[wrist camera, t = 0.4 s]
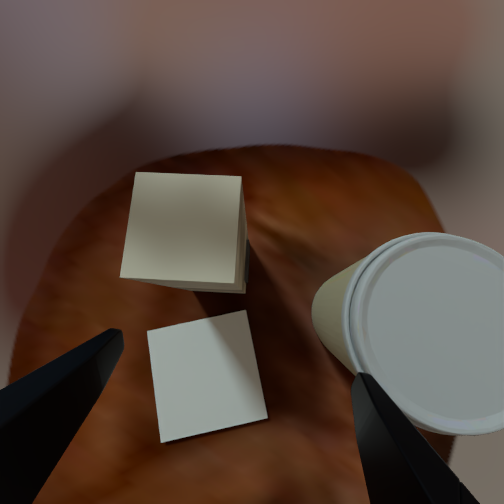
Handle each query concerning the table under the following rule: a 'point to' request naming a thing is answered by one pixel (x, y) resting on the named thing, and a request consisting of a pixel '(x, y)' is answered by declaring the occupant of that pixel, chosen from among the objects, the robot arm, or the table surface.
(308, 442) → the table surface
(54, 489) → the table surface
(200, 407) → the ceramic tile
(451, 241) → the coffee cup
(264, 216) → the table surface
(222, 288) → the letter block
